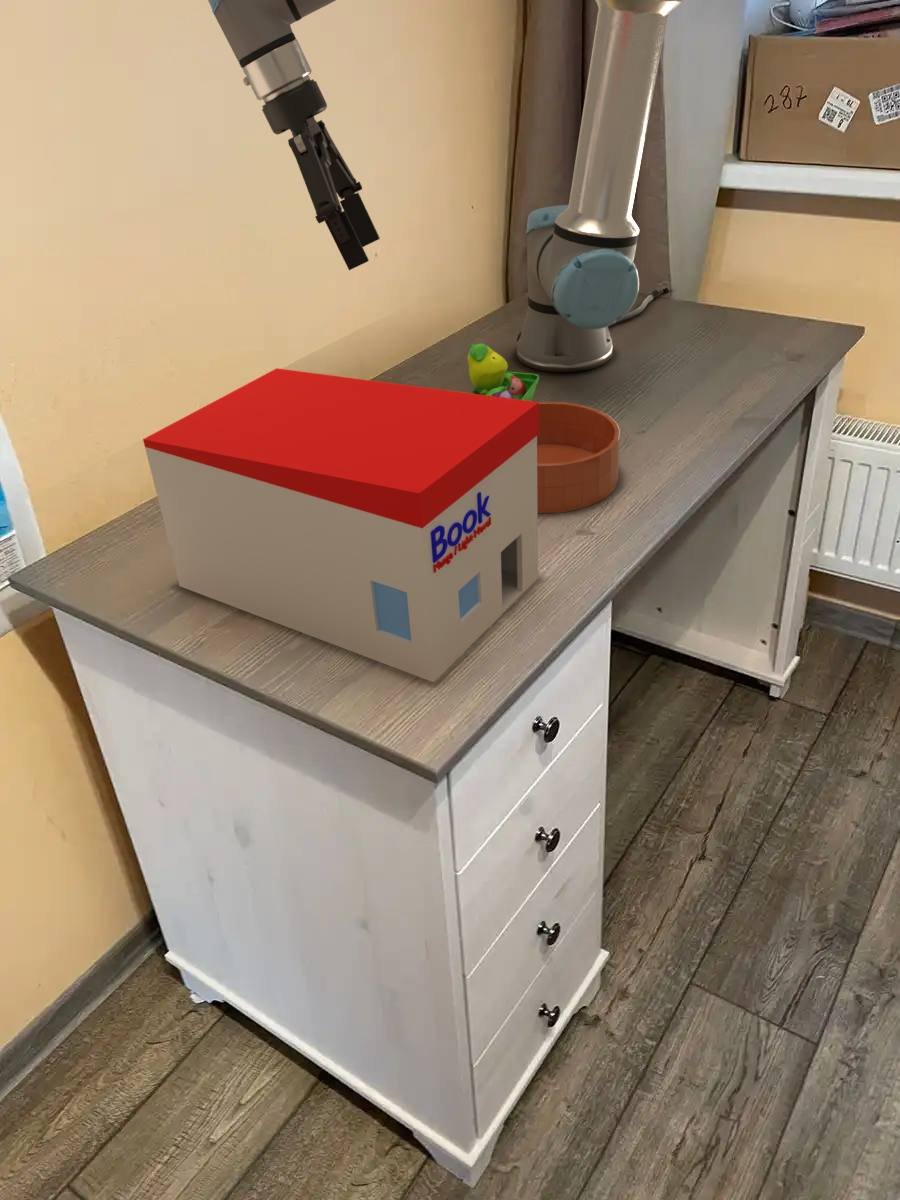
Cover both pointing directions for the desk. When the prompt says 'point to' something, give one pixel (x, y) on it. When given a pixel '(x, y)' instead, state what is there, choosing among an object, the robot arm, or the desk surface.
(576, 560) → the desk surface
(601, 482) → the pot
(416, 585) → the bookstore
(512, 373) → the fruit basket
